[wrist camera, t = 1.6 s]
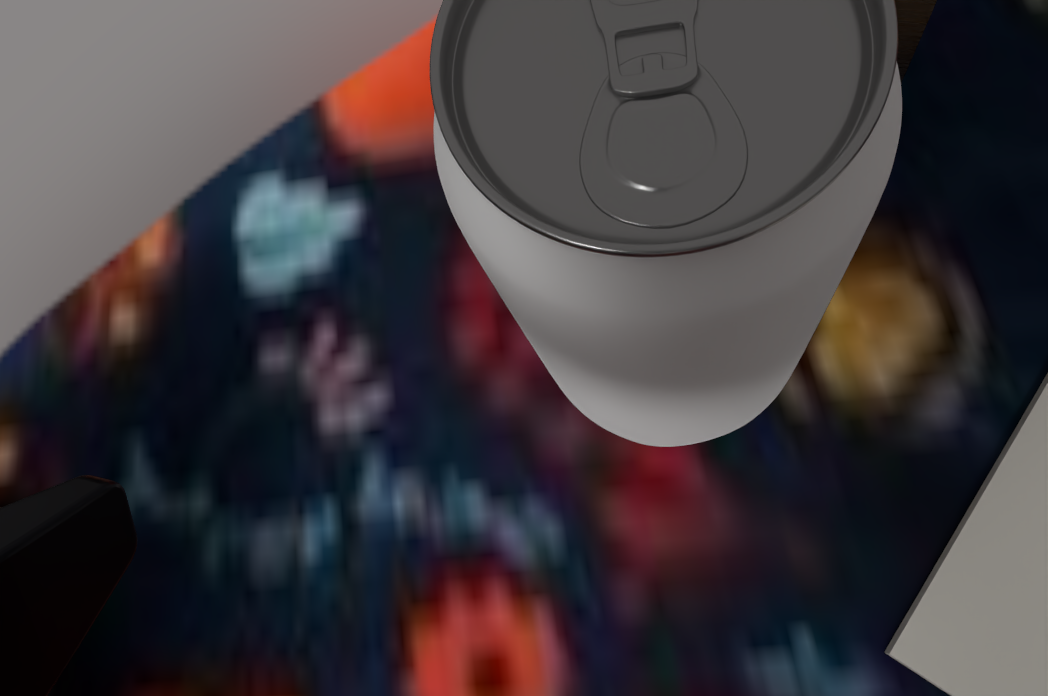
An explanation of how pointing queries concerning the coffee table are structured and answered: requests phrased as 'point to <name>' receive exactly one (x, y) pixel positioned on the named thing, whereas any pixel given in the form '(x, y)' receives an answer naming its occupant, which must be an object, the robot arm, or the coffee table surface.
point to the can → (666, 187)
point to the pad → (990, 581)
